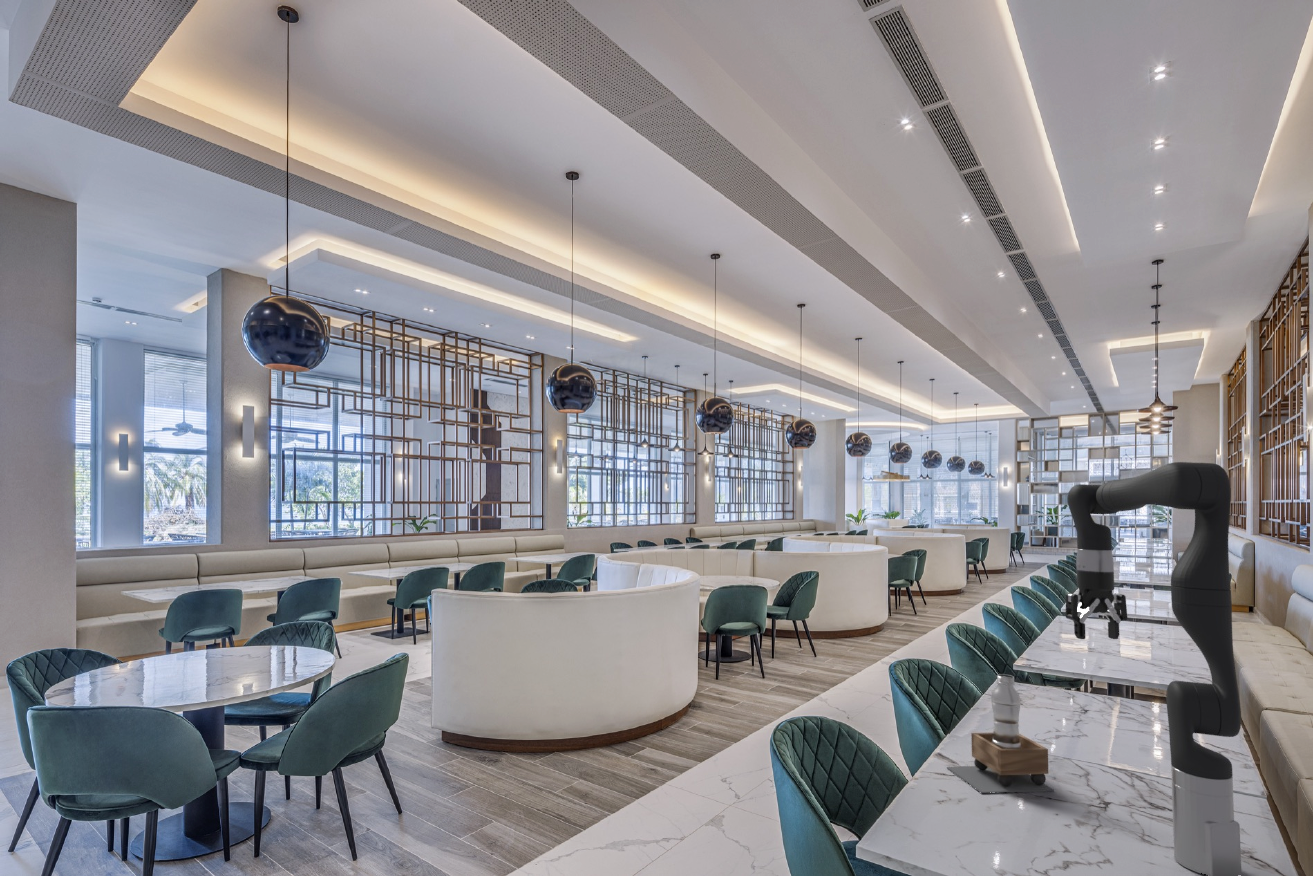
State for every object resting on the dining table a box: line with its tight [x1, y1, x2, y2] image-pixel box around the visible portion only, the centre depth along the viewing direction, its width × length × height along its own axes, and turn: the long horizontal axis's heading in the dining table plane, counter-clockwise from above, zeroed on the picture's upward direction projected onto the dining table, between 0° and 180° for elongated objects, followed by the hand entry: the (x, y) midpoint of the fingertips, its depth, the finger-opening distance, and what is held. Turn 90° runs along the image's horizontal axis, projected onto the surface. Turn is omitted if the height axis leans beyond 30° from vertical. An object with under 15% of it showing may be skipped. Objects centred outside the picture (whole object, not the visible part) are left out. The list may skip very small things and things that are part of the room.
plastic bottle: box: [990, 673, 1022, 749], centre depth 173 cm, size 6×7×20 cm
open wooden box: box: [970, 732, 1049, 786], centre depth 173 cm, size 12×12×8 cm
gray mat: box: [946, 765, 1055, 794], centre depth 172 cm, size 15×18×1 cm
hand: (1097, 638), depth 168 cm, fingers open, 8 cm apart
